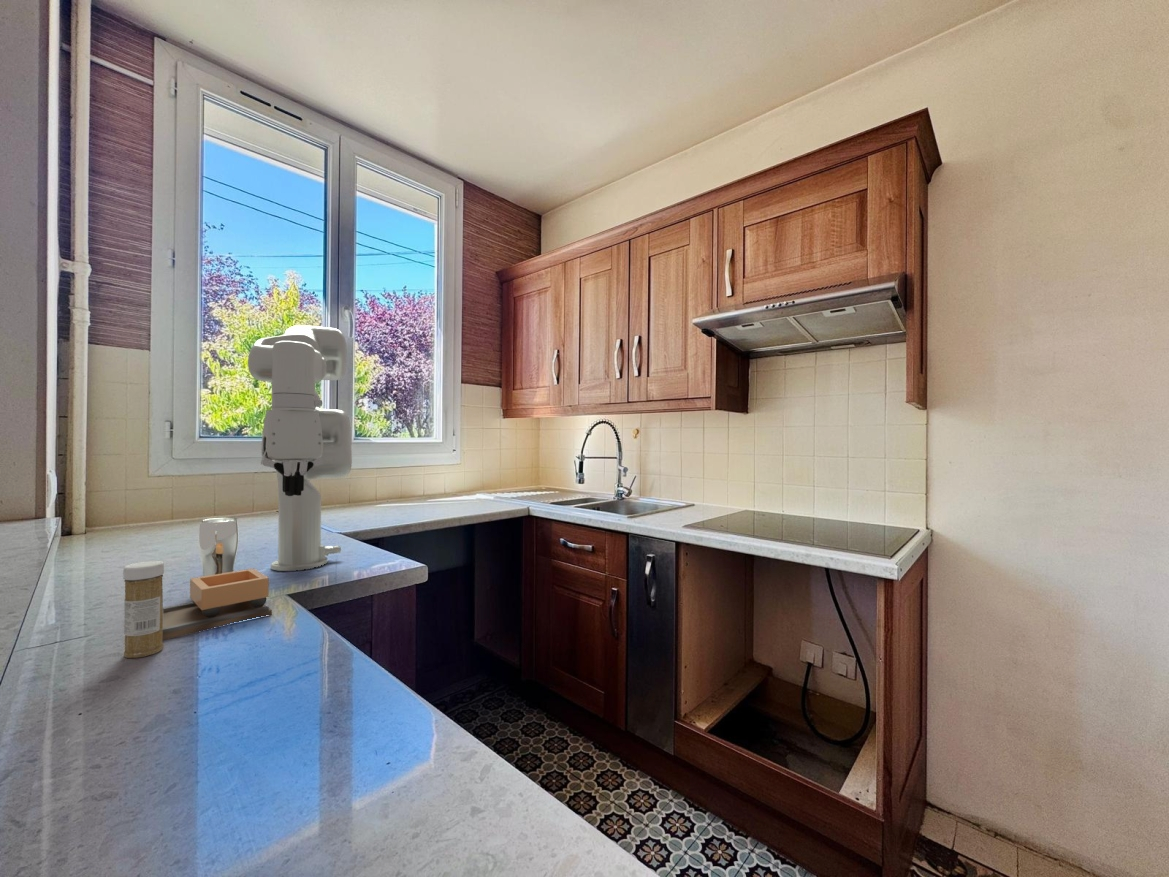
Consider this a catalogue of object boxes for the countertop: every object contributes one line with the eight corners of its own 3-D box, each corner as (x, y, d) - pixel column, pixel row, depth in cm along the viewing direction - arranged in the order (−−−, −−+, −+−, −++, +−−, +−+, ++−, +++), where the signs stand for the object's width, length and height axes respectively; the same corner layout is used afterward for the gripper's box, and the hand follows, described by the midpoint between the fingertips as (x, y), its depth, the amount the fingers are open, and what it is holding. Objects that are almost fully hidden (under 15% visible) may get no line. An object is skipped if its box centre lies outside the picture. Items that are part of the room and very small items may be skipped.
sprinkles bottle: (166, 644, 77) (167, 558, 77) (159, 655, 73) (159, 565, 73) (128, 650, 75) (128, 562, 75) (118, 662, 71) (118, 568, 71)
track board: (250, 598, 100) (250, 590, 100) (271, 615, 90) (271, 606, 90) (129, 622, 86) (129, 613, 86) (140, 645, 77) (140, 635, 77)
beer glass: (222, 595, 102) (222, 522, 102) (189, 594, 102) (189, 522, 102) (245, 585, 109) (246, 517, 109) (214, 585, 109) (215, 517, 109)
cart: (253, 594, 98) (253, 568, 98) (268, 605, 91) (268, 577, 92) (189, 606, 91) (190, 578, 91) (201, 620, 84) (201, 589, 84)
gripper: (326, 407, 107) (326, 491, 107) (244, 402, 96) (243, 496, 96) (340, 405, 102) (339, 493, 102) (255, 400, 91) (254, 500, 91)
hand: (293, 495), depth 99 cm, fingers closed
